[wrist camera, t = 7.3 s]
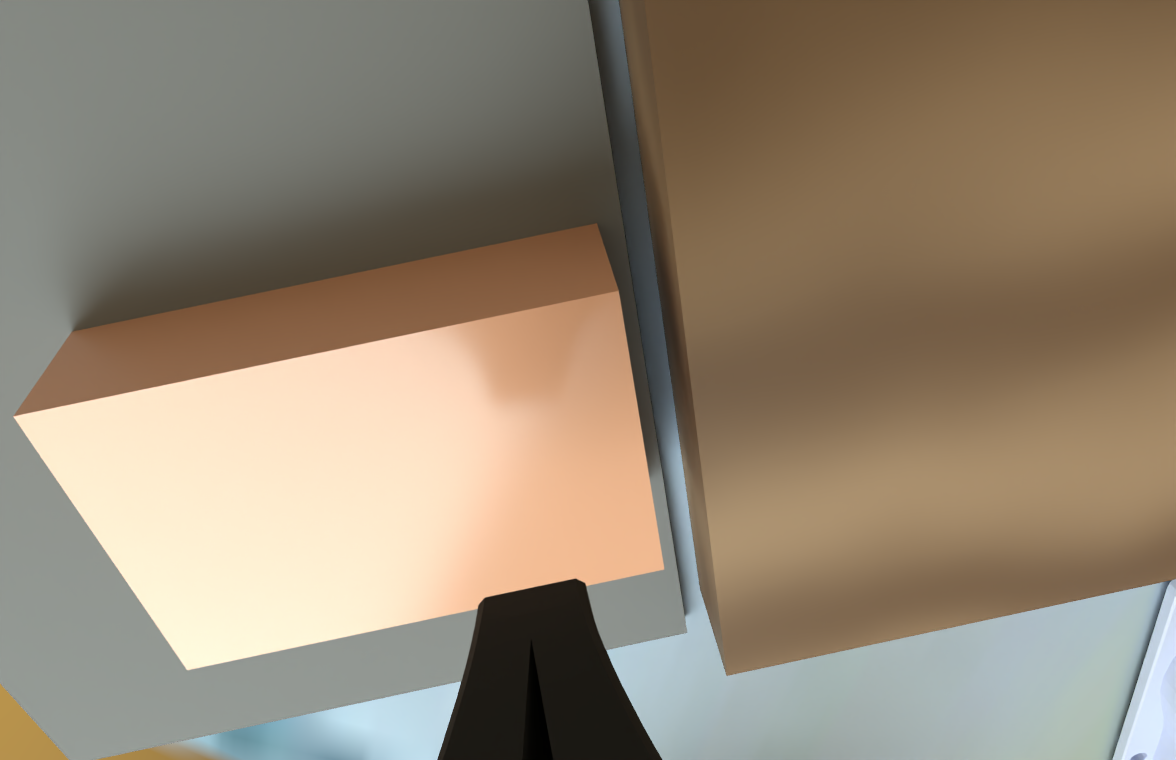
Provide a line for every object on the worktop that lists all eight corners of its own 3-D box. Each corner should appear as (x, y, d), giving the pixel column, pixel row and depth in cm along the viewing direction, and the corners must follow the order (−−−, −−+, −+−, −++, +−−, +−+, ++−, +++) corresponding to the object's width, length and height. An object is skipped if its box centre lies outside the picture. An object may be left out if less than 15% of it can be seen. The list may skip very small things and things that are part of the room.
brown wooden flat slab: (1272, 465, 21) (1361, 539, 19) (699, 587, 21) (726, 675, 19) (1538, -243, 13) (1741, -247, 11) (611, -51, 13) (641, -19, 11)
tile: (641, 484, 18) (664, 569, 16) (216, 573, 18) (187, 670, 16) (596, 223, 15) (618, 291, 13) (71, 331, 15) (13, 416, 13)
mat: (683, 619, 21) (687, 632, 21) (79, 748, 21) (73, 763, 21) (538, -298, 11) (540, -301, 11) (-633, -59, 11) (-667, -54, 11)
